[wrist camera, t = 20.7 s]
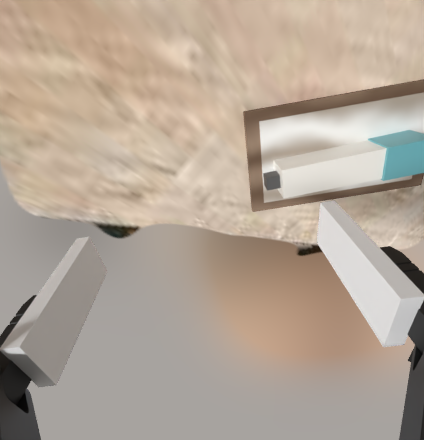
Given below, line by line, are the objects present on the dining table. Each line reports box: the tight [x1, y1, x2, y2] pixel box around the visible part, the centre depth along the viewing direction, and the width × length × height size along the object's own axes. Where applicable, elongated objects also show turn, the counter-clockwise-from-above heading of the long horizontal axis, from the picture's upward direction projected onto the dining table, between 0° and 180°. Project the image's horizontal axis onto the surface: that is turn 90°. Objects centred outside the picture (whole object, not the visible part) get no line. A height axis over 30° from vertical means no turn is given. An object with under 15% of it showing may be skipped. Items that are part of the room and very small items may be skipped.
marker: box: [263, 130, 424, 198], centre depth 37 cm, size 5×22×5 cm, turn 102°
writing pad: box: [243, 80, 424, 212], centre depth 39 cm, size 16×28×1 cm, turn 99°
